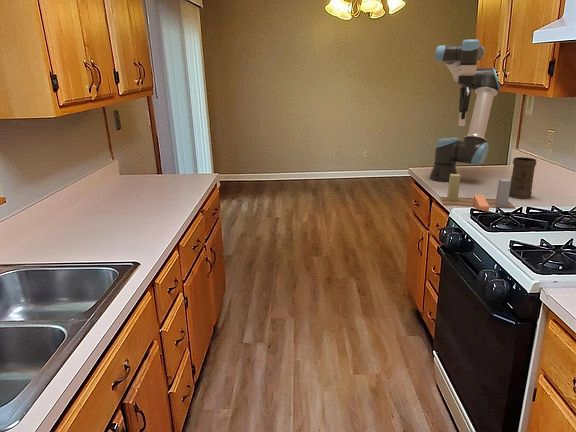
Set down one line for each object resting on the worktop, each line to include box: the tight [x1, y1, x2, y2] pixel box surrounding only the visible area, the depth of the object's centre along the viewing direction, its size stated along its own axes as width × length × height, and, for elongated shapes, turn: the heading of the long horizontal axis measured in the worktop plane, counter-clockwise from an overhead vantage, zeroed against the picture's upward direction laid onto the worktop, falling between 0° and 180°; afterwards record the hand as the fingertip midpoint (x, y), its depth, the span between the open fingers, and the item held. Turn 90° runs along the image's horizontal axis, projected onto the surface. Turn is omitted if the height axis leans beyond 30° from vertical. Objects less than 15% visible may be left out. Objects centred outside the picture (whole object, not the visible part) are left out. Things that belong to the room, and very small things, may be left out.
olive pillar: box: [446, 173, 461, 201], centre depth 214 cm, size 4×4×12 cm
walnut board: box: [439, 196, 517, 210], centre depth 212 cm, size 15×31×1 cm, turn 80°
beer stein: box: [509, 157, 537, 200], centre depth 221 cm, size 15×11×20 cm
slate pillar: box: [495, 178, 511, 207], centre depth 204 cm, size 4×4×12 cm
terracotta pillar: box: [473, 194, 490, 213], centre depth 202 cm, size 4×4×12 cm
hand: (461, 125), depth 222 cm, fingers closed
